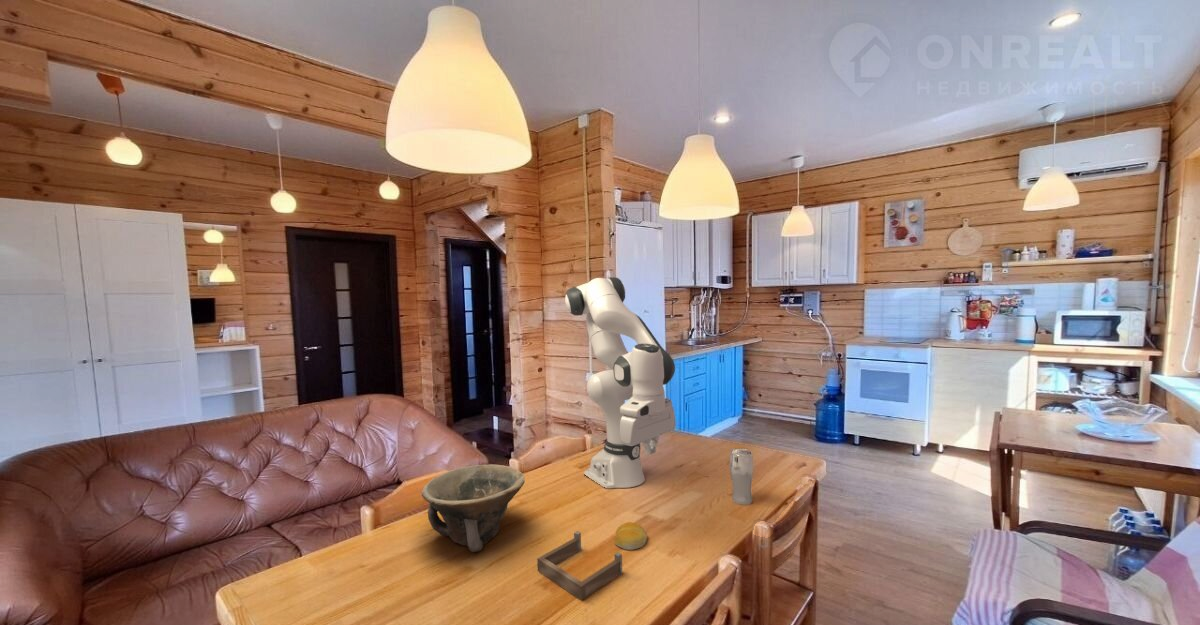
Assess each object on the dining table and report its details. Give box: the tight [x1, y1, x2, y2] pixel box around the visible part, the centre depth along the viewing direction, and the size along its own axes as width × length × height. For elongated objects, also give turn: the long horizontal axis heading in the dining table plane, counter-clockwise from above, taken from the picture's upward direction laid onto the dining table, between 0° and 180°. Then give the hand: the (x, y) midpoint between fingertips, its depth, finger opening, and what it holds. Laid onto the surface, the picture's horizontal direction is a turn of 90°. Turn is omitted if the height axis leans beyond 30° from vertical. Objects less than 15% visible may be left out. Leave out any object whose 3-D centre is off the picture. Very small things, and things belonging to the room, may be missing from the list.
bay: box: [536, 530, 623, 601], centre depth 102 cm, size 15×13×4 cm
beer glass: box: [729, 448, 754, 506], centre depth 135 cm, size 7×7×15 cm
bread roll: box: [613, 521, 648, 551], centre depth 114 cm, size 8×9×4 cm
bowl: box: [421, 464, 526, 553], centre depth 121 cm, size 27×26×15 cm
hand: (650, 453), depth 121 cm, fingers closed
